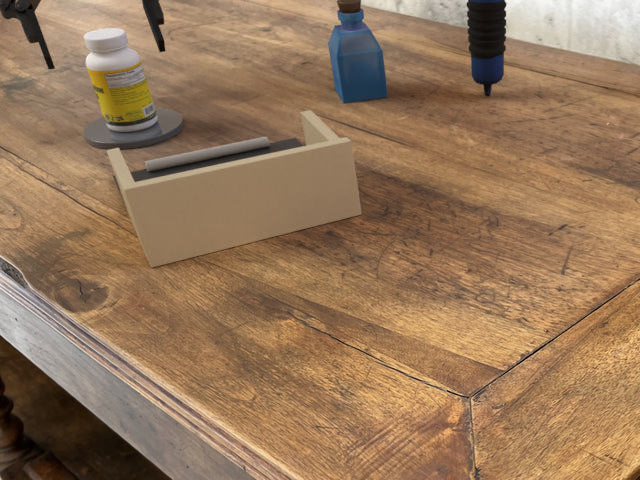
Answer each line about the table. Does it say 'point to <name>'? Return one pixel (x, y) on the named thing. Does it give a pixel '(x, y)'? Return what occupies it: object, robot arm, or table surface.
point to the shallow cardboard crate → (238, 192)
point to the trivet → (134, 132)
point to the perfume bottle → (356, 56)
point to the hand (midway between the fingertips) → (107, 54)
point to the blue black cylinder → (487, 41)
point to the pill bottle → (119, 81)
